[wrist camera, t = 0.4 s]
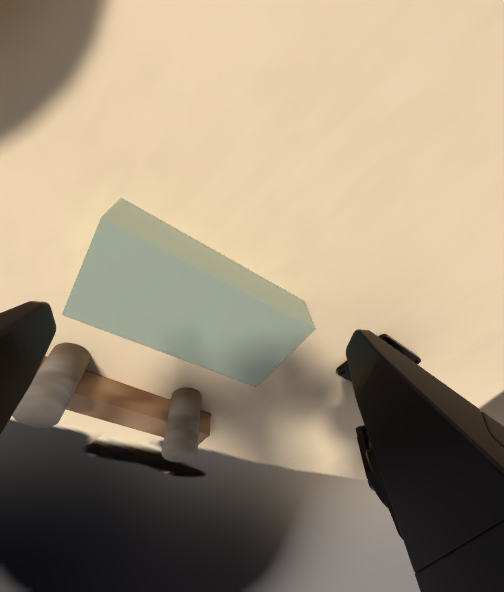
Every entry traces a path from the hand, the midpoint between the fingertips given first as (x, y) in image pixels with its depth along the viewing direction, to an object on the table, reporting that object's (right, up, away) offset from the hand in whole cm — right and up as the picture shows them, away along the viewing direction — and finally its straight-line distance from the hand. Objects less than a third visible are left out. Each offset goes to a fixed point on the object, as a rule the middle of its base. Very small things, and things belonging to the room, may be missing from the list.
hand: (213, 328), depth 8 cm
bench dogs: (-12, -8, +20) cm, 25 cm away
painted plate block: (-3, +1, +15) cm, 15 cm away
